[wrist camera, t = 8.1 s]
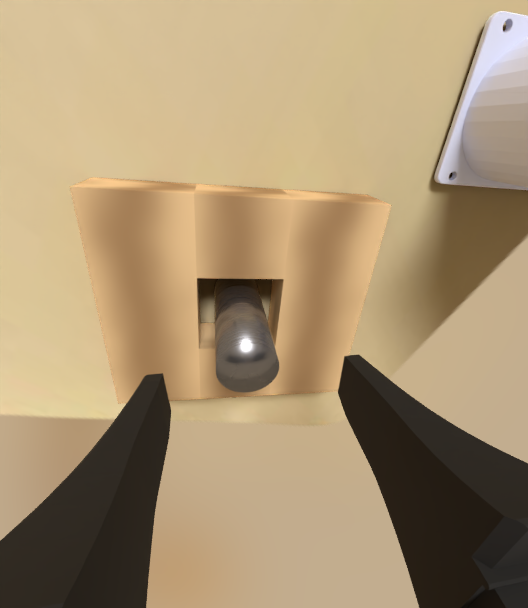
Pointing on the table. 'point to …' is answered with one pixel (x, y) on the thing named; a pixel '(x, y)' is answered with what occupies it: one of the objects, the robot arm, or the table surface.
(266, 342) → the metal peg
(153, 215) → the oak hole block
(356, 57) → the table surface
